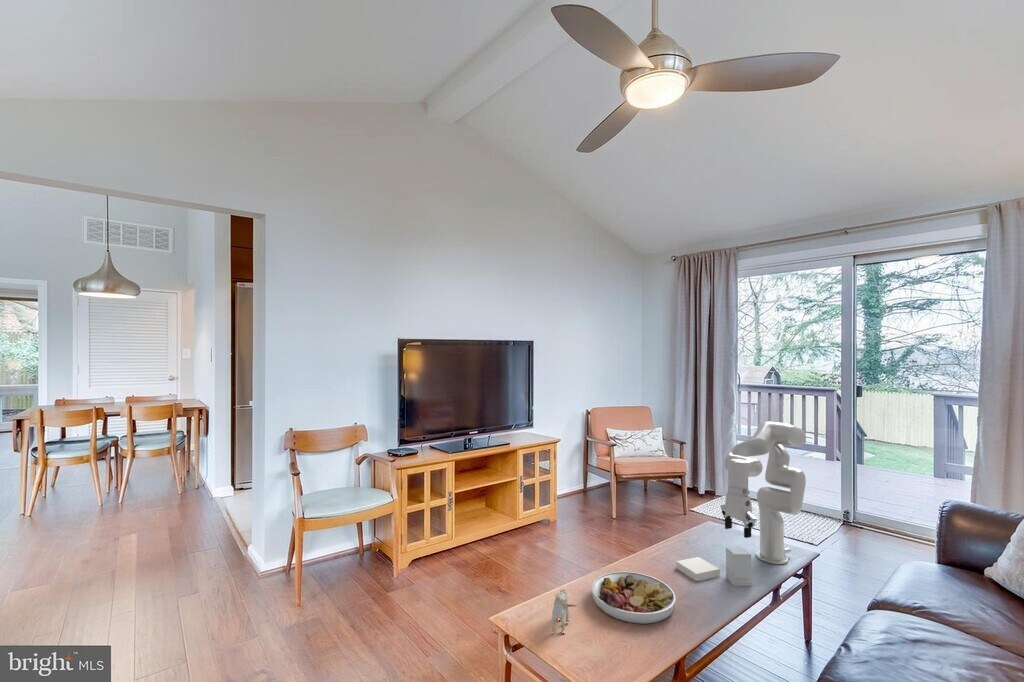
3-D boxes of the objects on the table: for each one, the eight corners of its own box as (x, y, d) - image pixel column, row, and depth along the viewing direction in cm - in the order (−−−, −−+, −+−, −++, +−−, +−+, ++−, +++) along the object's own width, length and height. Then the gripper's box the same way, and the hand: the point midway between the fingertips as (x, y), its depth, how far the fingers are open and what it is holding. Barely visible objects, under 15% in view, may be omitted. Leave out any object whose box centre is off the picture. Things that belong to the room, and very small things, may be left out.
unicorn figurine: (554, 648, 145) (554, 605, 146) (547, 613, 165) (547, 575, 165) (576, 648, 146) (576, 605, 146) (567, 613, 165) (567, 575, 165)
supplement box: (752, 586, 184) (752, 554, 184) (733, 586, 184) (733, 554, 184) (743, 577, 191) (743, 546, 192) (725, 577, 192) (725, 546, 192)
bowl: (619, 576, 193) (619, 557, 193) (690, 604, 171) (689, 583, 171) (575, 603, 172) (575, 582, 172) (649, 640, 150) (649, 615, 150)
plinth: (698, 563, 203) (698, 556, 203) (719, 576, 192) (719, 569, 192) (676, 568, 199) (676, 561, 199) (696, 581, 188) (696, 573, 188)
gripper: (762, 495, 182) (762, 539, 181) (728, 483, 198) (728, 524, 197) (748, 497, 179) (748, 542, 178) (714, 485, 195) (714, 526, 195)
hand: (737, 532), depth 188 cm, fingers open, 9 cm apart
